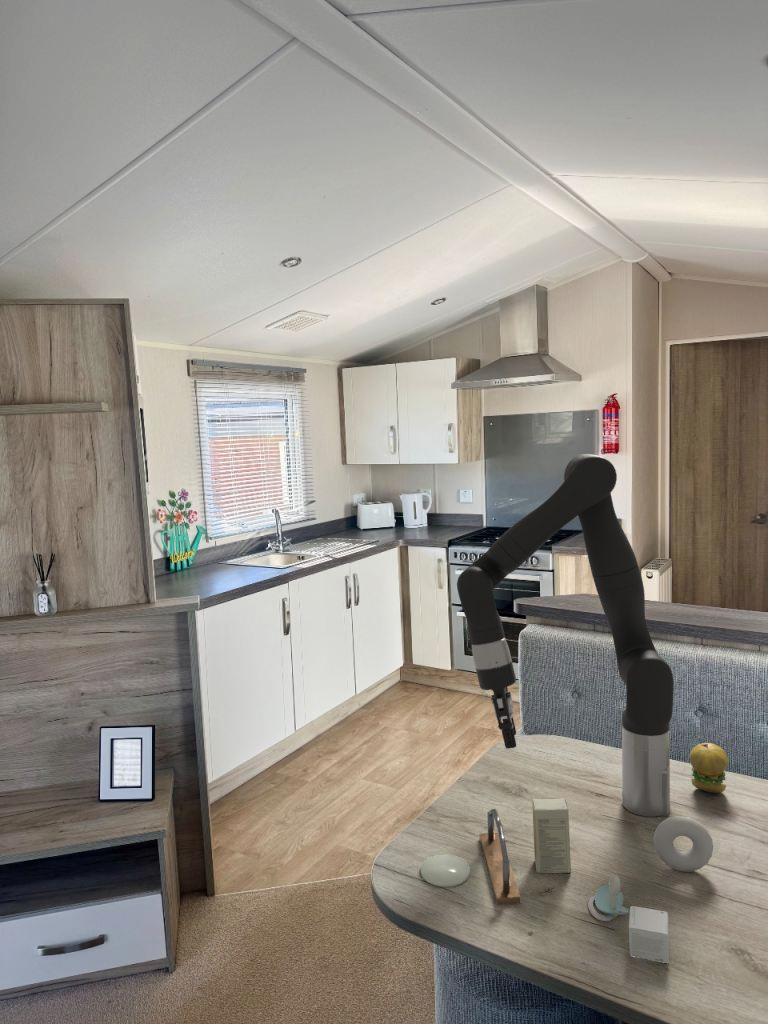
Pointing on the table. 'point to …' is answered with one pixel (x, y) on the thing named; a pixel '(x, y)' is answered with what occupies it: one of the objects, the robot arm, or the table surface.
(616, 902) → the pacifier
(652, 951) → the small box
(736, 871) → the table surface
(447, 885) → the glossy white rounded disc
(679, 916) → the table surface
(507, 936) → the table surface
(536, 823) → the skincare box
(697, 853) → the donut
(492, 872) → the wood and metal stand
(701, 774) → the hamburger
